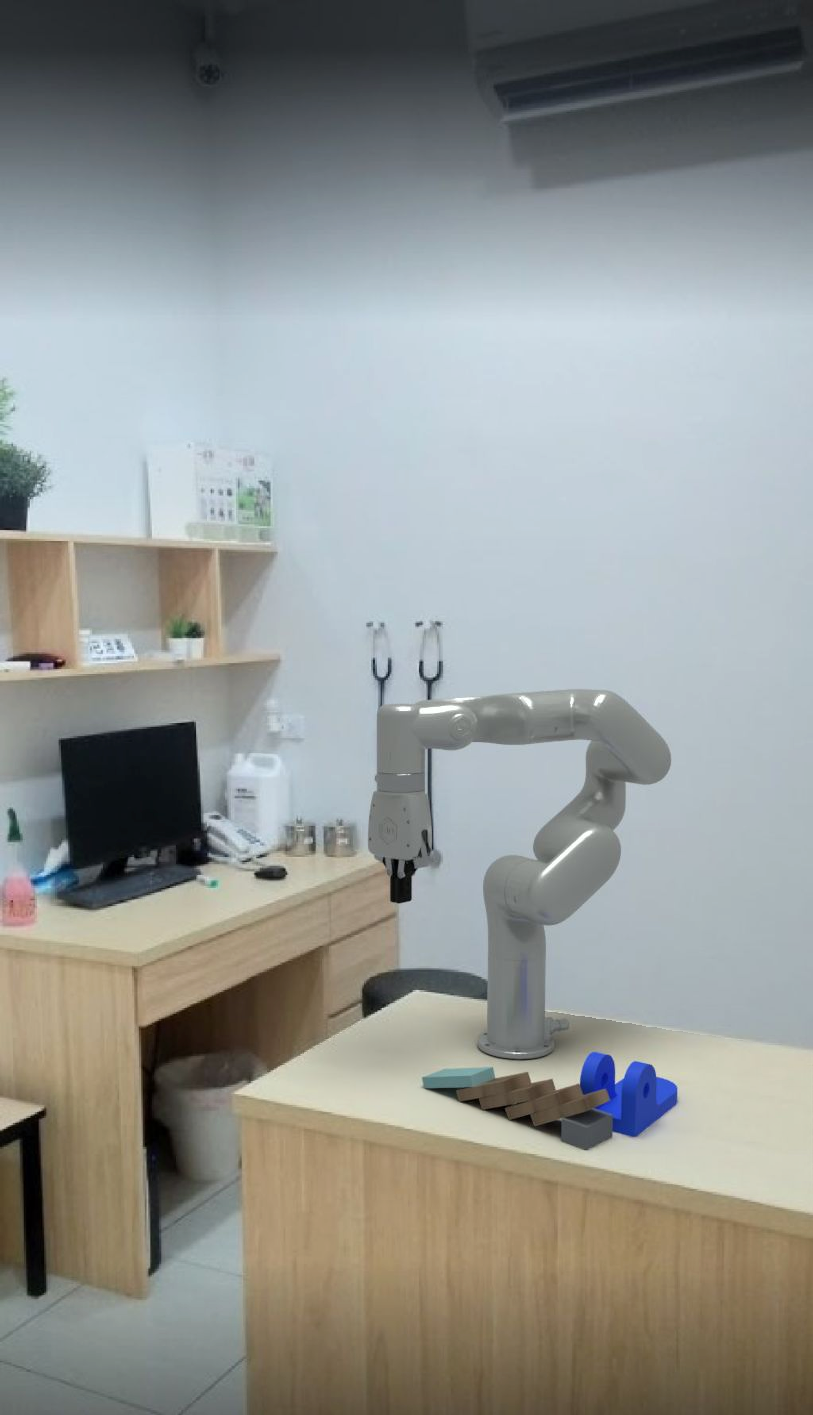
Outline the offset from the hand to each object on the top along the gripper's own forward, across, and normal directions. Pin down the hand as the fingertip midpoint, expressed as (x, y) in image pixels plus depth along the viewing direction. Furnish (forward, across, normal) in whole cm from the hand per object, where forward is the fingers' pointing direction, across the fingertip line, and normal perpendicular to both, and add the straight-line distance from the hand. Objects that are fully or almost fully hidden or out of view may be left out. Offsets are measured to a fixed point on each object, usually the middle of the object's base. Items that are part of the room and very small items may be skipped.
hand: (400, 901), depth 177 cm
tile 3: (+26, +19, -1) cm, 32 cm away
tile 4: (+26, +24, -1) cm, 35 cm away
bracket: (+27, +35, +12) cm, 46 cm away
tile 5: (+25, +29, -1) cm, 38 cm away
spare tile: (+26, +8, -1) cm, 27 cm away
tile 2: (+26, +15, -1) cm, 30 cm away
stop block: (+26, +36, -1) cm, 45 cm away
